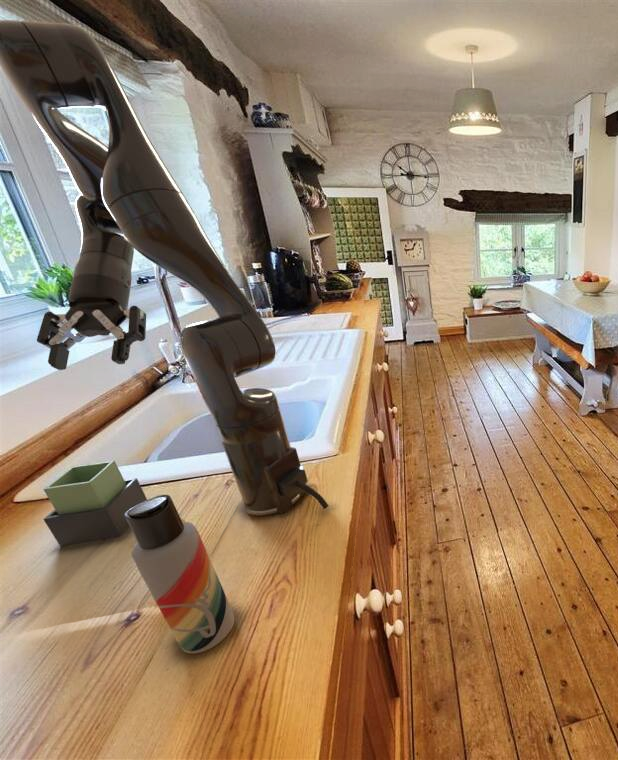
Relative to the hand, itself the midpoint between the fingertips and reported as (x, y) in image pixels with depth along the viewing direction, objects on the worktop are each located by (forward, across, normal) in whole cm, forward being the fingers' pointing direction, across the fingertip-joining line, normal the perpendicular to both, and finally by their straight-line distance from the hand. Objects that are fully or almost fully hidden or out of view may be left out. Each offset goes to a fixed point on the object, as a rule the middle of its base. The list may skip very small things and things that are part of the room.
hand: (88, 365), depth 69 cm
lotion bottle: (+44, +24, -9) cm, 51 cm away
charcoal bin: (+26, 0, +9) cm, 27 cm away
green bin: (+25, 0, +9) cm, 27 cm away
